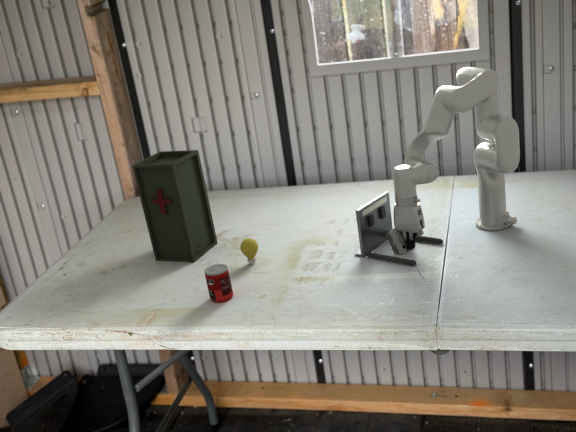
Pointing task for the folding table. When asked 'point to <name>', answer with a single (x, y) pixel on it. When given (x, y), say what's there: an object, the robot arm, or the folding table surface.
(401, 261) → the cable near
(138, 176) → the first aid box
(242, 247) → the light bulb
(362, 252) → the panel
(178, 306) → the folding table surface
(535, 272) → the folding table surface
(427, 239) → the cable far
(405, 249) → the electrical switch
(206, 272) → the canned food
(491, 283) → the folding table surface
